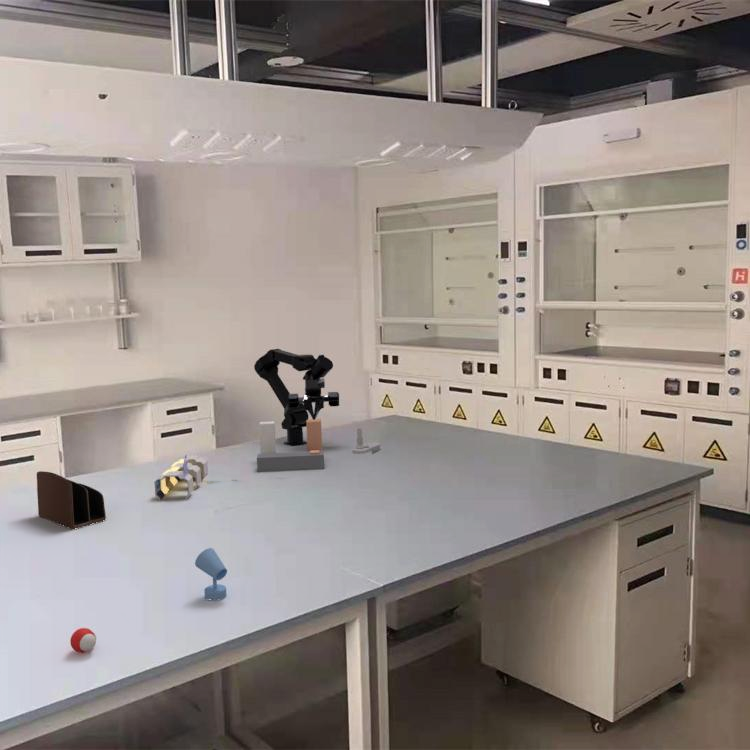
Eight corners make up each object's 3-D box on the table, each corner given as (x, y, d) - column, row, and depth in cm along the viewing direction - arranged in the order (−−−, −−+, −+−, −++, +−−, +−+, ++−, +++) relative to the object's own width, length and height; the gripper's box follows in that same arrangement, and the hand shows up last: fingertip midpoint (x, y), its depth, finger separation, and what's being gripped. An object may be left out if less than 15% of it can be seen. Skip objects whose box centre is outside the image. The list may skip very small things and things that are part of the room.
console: (261, 463, 278) (260, 445, 277) (324, 460, 280) (323, 442, 279) (257, 475, 263) (256, 456, 262) (324, 472, 264) (323, 453, 263)
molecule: (66, 652, 145) (64, 630, 144) (90, 642, 148) (88, 620, 148) (82, 660, 142) (80, 637, 141) (106, 649, 145) (104, 627, 145)
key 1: (262, 461, 276) (260, 421, 274) (276, 460, 277) (274, 421, 275) (261, 464, 272) (259, 424, 270) (275, 463, 273) (273, 423, 271)
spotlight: (194, 595, 168) (215, 603, 163) (191, 550, 166) (212, 557, 162) (213, 587, 172) (234, 595, 167) (210, 543, 170) (231, 550, 166)
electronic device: (381, 424, 295) (362, 430, 281) (382, 450, 296) (363, 458, 282) (368, 423, 297) (349, 429, 284) (369, 449, 298) (350, 456, 285)
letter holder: (72, 530, 213) (68, 479, 211) (38, 516, 226) (33, 468, 224) (106, 521, 221) (102, 471, 219) (71, 508, 234) (67, 461, 232)
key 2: (308, 459, 277) (306, 419, 275) (322, 458, 278) (320, 419, 276) (308, 462, 273) (306, 422, 271) (322, 461, 274) (321, 421, 272)
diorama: (189, 500, 238) (187, 457, 236) (155, 501, 239) (152, 458, 237) (208, 478, 263) (206, 439, 261) (177, 478, 263) (174, 440, 261)
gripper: (286, 372, 288) (286, 407, 278) (338, 369, 289) (339, 405, 279) (288, 390, 296) (288, 425, 287) (338, 388, 298) (340, 422, 288)
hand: (314, 419), depth 285 cm, fingers closed
